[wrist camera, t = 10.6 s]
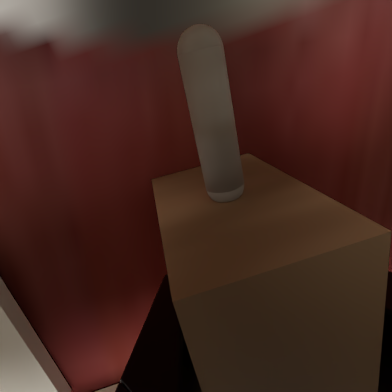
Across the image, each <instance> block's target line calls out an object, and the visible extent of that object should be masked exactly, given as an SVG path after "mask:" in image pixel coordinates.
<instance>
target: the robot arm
mask: <svg viewBox="0 0 392 392" xmlns="http://www.w3.org/2000/svg"><path fill="white" fill-rule="evenodd" d="M120 382H121V383H119V384H118V386H117V388H116V390H115V392H202V391H201V388H200V385H199V381H198V378H197V375H196V372H195V369H194V366H193V363H192V360H191V357H190V354H189V351H188V348H187V345H186V342H185V339H184V336H183V333H182V330H181V327H180V323H179V320H178V317H177V314H176V311H175V308H174V305H173V302H172V297H171V291H170V285H169V279H168V274H167V275H165V276H164V278H163V280H162V283H161V285H160V287H159V290H158V292H157V294H156V297H155V299H154V301H153V304H152V306H151V308H150V311H149V313H148V316H147V318H146V320H145V323H144V325H143V327H142V330H141V332H140V334H139V337H138V339H137V341H136V344H135V346H134V348H133V351H132V353H131V355H130V358H129V360H128V363H127V365H126V367H125V370H124V372H123V374H122V377H121V379H120ZM378 392H392V272H389V271H388V278H387V290H386V301H385V313H384V325H383V336H382V348H381V360H380V371H379V383H378Z"/></svg>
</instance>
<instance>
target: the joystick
mask: <svg viewBox="0 0 392 392" xmlns="http://www.w3.org/2000/svg"><path fill="white" fill-rule="evenodd" d="M177 57H178V62H179V66H180V71H181V76H182V80H183V85H184V89H185V94H186V99H187V103H188V108H189V113H190V117H191V122H192V127H193V131H194V136H195V141H196V145H197V150H198V154H199V159H200V164H201V166H199V167H195V168H192V169H188V170H184V171H180V172H177V173H173V174H169V175H166V176H162V177H158V178H155V179H151V180H152V185H153V191H154V197H155V203H156V209H157V215H158V221H159V226H160V232H161V238H162V244H163V250H164V256H165V261H166V267H167V273H168V279H169V285H170V291H171V297H172V302H173V305H174V308H175V311H176V314H177V317H178V320H179V323H180V327H181V330H182V333H183V336H184V339H185V342H186V345H187V348H188V351H189V354H190V357H191V360H192V363H193V366H194V369H195V372H196V375H197V378H198V381H199V385H200V388H201V391H202V392H378V383H379V371H380V360H381V348H382V336H383V325H384V313H385V301H386V290H387V278H388V266H389V255H390V243H391V231H390V230H389V229H387V228H385V227H383V226H381V225H379V224H378V223H376V222H374V221H372V220H370V219H368V218H367V217H365V216H363V215H361V214H359V213H357V212H356V211H354V210H352V209H350V208H348V207H346V206H345V205H343V204H341V203H339V202H337V201H335V200H334V199H332V198H330V197H328V196H326V195H324V194H323V193H321V192H319V191H317V190H315V189H313V188H312V187H310V186H308V185H306V184H304V183H302V182H301V181H299V180H297V179H295V178H293V177H291V176H290V175H288V174H286V173H284V172H282V171H280V170H279V169H277V168H275V167H273V166H271V165H269V164H268V163H266V162H264V161H262V160H260V159H258V158H257V157H255V156H253V155H251V154H249V153H247V154H243V155H240V151H239V145H238V138H237V132H236V125H235V119H234V112H233V106H232V99H231V93H230V86H229V79H228V73H227V66H226V60H225V53H224V47H223V42H222V39H221V37H220V35H219V34H218V32H217V31H216V30H215V29H214V28H212V27H210V26H209V25H205V24H195V25H192V26H190V27H189V28H187V29H186V30H185V31H184V32H183V33H182V35H181V36H180V39H179V41H178V45H177Z"/></svg>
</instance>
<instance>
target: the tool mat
mask: <svg viewBox="0 0 392 392" xmlns="http://www.w3.org/2000/svg"><path fill="white" fill-rule="evenodd" d="M71 390H72V389H71V388H70V386H69V385H68V383H67V382H66V380H65V378H64V377H63V375H62V374H61V372H60V370H59V369H58V367H57V366H56V364H55V363H54V361H53V359H52V358H51V356H50V355H49V353H48V352H47V350H46V348H45V347H44V345H43V344H42V342H41V340H40V339H39V337H38V336H37V334H36V333H35V331H34V329H33V328H32V326H31V325H30V323H29V321H28V320H27V318H26V317H25V315H24V314H23V312H22V310H21V309H20V307H19V306H18V304H17V302H16V301H15V299H14V298H13V296H12V295H11V293H10V291H9V290H8V288H7V287H6V285H5V283H4V282H3V280H2V279H1V277H0V392H71Z"/></svg>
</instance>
